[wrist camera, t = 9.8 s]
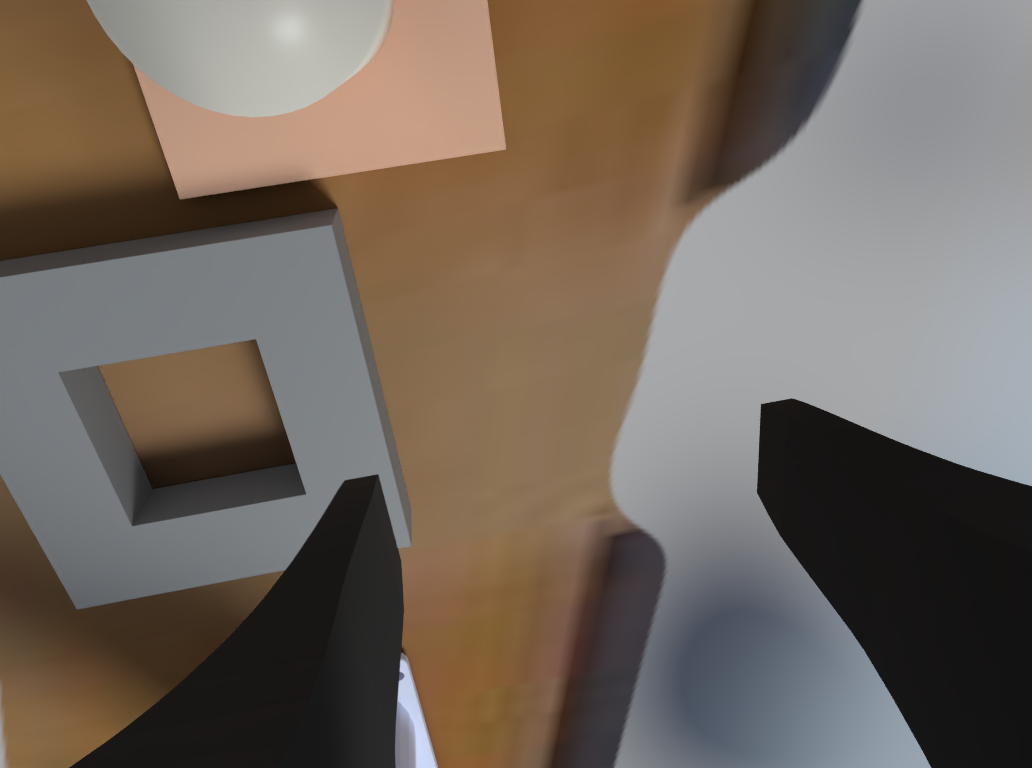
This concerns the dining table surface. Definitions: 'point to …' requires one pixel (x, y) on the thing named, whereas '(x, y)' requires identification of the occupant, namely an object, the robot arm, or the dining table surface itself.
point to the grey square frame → (170, 329)
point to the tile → (351, 111)
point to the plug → (247, 48)
